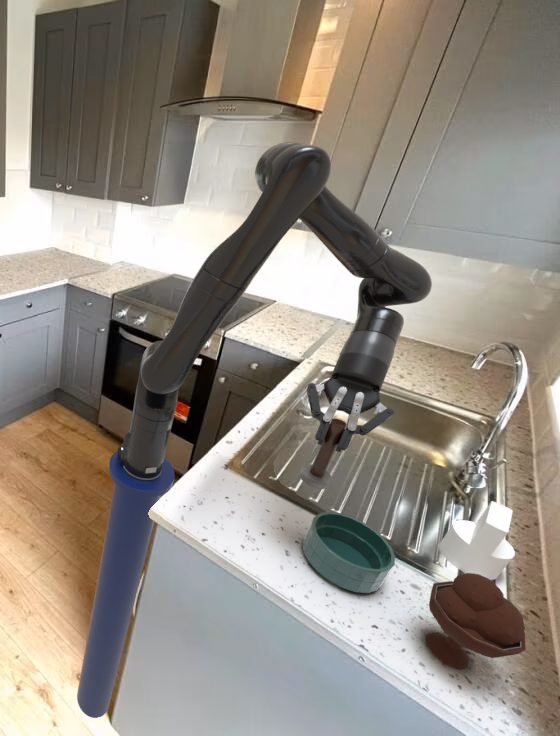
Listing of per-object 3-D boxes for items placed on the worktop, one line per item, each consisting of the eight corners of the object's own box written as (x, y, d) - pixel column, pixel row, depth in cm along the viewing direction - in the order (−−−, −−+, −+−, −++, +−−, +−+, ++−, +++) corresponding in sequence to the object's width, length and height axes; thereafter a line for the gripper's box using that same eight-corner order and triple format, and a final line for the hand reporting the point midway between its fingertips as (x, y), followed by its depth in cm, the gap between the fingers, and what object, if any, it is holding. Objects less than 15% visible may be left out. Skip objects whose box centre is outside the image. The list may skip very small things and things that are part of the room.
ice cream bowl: (401, 650, 68) (445, 589, 62) (411, 604, 76) (452, 545, 69) (490, 707, 62) (550, 646, 55) (491, 651, 69) (545, 591, 62)
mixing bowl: (294, 565, 81) (306, 541, 78) (308, 524, 91) (318, 501, 88) (377, 610, 74) (393, 586, 71) (382, 560, 84) (396, 537, 81)
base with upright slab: (443, 533, 91) (471, 491, 85) (500, 563, 85) (535, 519, 79) (434, 556, 85) (464, 512, 80) (494, 589, 79) (531, 544, 74)
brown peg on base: (296, 480, 79) (320, 422, 73) (301, 466, 83) (325, 410, 77) (326, 493, 76) (354, 434, 71) (331, 478, 80) (357, 421, 74)
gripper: (322, 340, 78) (287, 424, 75) (417, 366, 70) (382, 461, 67) (318, 357, 84) (284, 435, 81) (404, 382, 77) (371, 469, 73)
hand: (329, 446), depth 74 cm, fingers closed on brown peg on base
